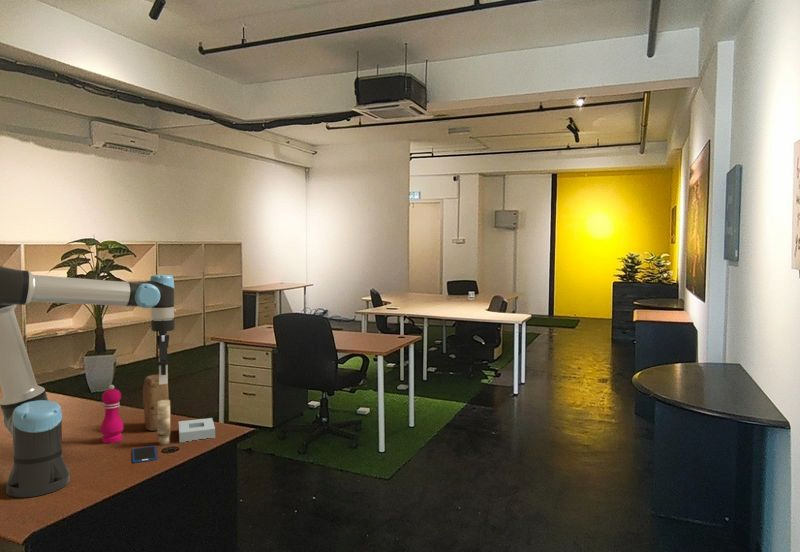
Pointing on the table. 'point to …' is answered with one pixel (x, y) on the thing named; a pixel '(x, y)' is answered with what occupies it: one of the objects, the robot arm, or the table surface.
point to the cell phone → (144, 454)
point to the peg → (164, 421)
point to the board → (196, 429)
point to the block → (153, 400)
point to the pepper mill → (111, 416)
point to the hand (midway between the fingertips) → (163, 379)
